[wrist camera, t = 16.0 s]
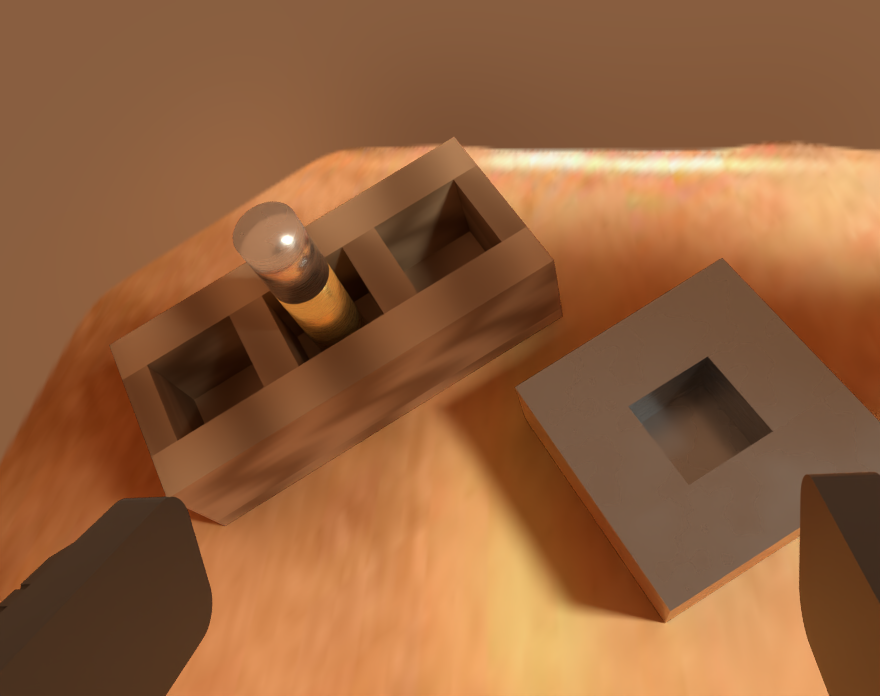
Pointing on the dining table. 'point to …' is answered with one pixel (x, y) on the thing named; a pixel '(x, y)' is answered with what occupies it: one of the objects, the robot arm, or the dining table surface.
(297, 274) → the gold clear cylinder
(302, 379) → the vial rack
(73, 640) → the robot arm
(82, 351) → the dining table surface
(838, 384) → the socket block
